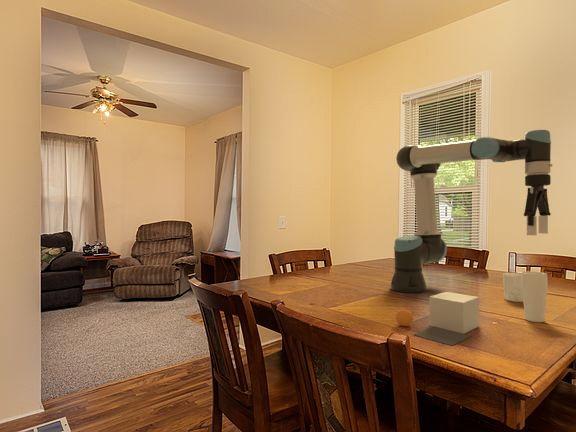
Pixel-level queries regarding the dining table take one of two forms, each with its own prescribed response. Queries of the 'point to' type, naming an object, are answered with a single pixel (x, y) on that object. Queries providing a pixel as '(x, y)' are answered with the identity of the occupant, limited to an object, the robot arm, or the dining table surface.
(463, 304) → the pale grey cube
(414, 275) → the robot arm
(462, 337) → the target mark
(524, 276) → the drinking glass
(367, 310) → the dining table surface
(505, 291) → the white cup
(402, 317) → the ball
